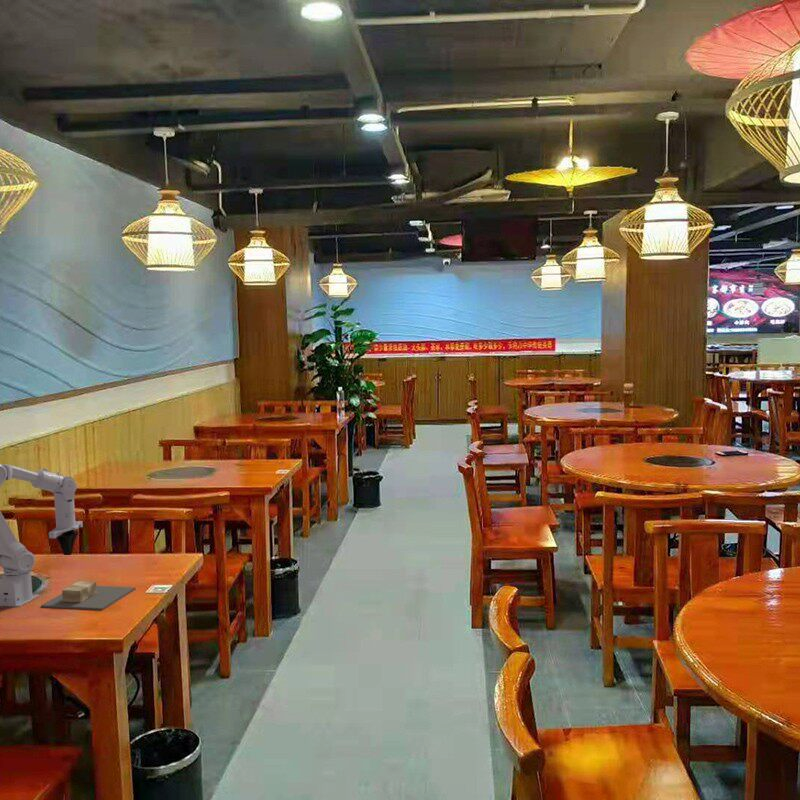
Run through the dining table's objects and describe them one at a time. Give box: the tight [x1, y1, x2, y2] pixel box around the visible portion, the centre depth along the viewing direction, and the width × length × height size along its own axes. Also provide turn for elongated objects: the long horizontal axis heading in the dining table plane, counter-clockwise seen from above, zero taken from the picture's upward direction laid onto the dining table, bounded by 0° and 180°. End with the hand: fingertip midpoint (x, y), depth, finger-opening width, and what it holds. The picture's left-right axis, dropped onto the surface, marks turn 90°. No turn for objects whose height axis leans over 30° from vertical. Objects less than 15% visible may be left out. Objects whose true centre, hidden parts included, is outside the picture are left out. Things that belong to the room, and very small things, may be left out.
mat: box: [40, 585, 136, 611], centre depth 229 cm, size 18×20×1 cm
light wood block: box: [61, 580, 97, 602], centre depth 227 cm, size 4×6×8 cm
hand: (67, 554), depth 243 cm, fingers closed
